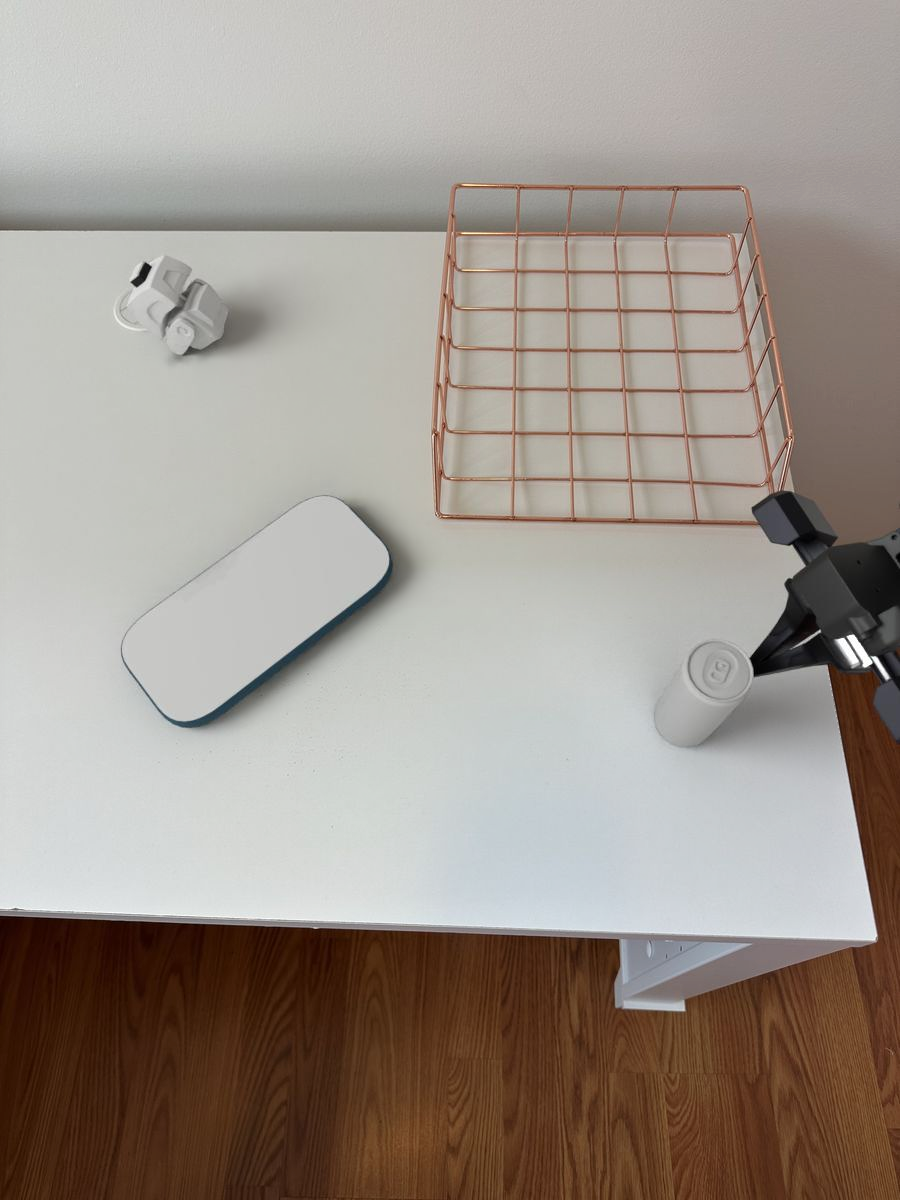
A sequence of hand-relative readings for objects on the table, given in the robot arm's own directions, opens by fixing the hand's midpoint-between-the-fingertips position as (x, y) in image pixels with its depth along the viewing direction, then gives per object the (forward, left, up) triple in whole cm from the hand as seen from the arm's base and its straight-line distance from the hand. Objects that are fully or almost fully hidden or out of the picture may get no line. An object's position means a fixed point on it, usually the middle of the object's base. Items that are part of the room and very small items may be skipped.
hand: (745, 673), depth 61 cm
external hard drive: (+36, -15, -8) cm, 40 cm away
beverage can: (+3, +1, -8) cm, 9 cm away
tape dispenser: (+41, -48, -8) cm, 64 cm away
